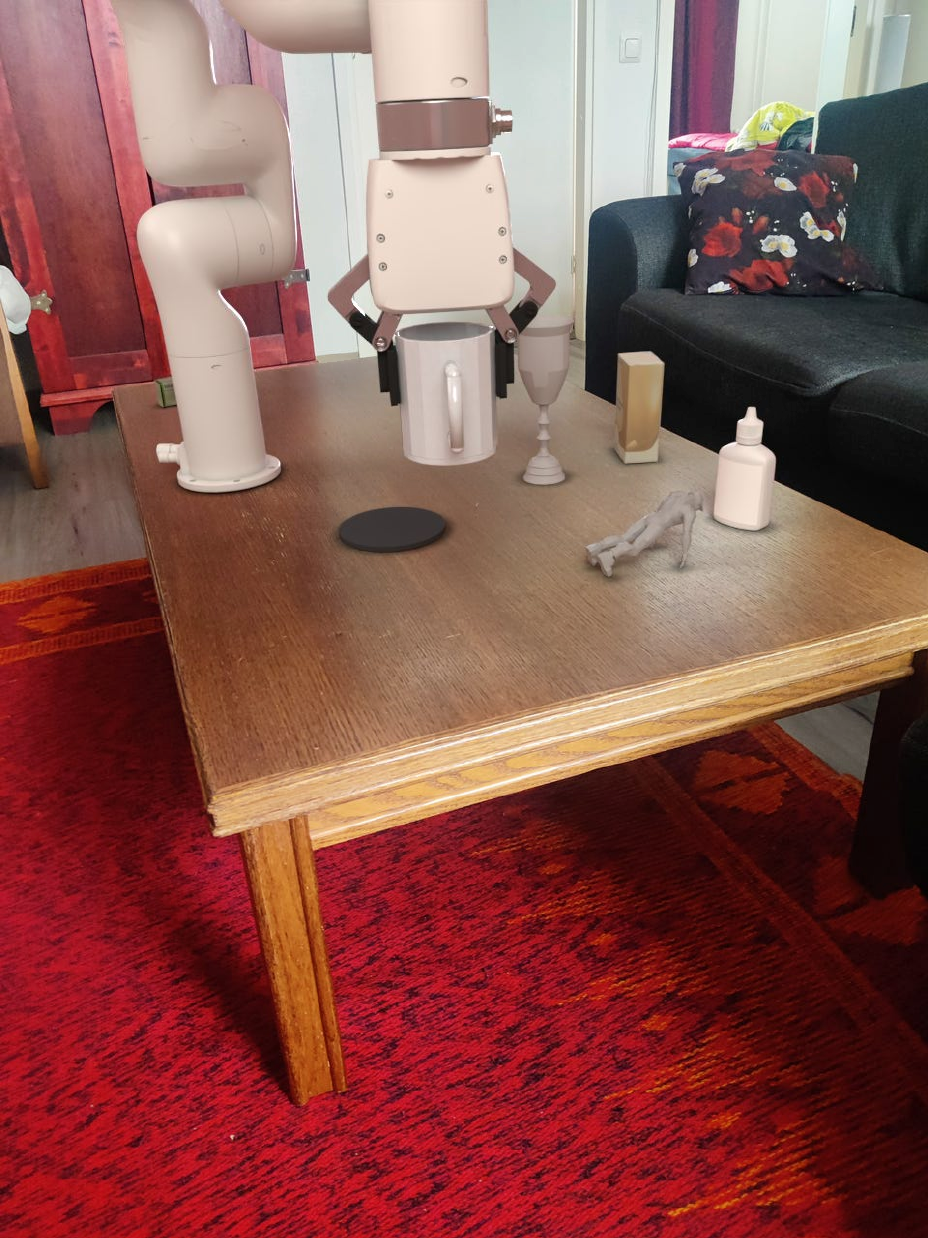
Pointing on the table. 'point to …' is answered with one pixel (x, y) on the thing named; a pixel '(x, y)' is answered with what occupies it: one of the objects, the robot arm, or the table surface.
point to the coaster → (392, 529)
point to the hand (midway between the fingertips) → (447, 396)
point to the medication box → (165, 392)
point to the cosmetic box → (638, 407)
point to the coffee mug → (447, 392)
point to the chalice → (544, 383)
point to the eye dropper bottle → (745, 478)
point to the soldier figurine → (650, 530)
